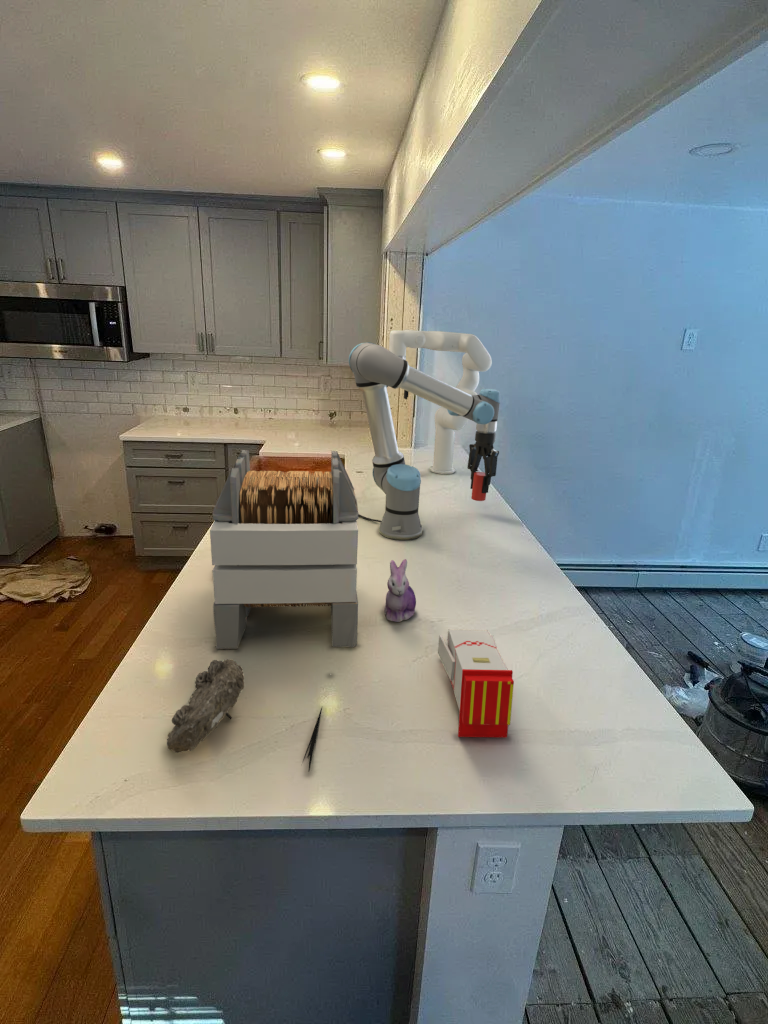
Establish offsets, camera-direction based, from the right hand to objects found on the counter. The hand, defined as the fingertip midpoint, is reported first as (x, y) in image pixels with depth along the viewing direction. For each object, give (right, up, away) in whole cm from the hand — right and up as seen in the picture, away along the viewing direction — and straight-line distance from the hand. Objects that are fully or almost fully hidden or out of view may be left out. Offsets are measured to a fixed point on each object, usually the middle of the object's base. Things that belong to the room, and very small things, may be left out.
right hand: (395, 398), depth 255 cm
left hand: (+32, -43, -36) cm, 64 cm away
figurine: (-1, -78, -108) cm, 133 cm away
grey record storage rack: (-29, -77, -110) cm, 137 cm away
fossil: (-38, -90, -147) cm, 177 cm away
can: (+32, -46, -34) cm, 65 cm away
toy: (+13, -89, -137) cm, 163 cm away
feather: (-17, -91, -147) cm, 173 cm away
